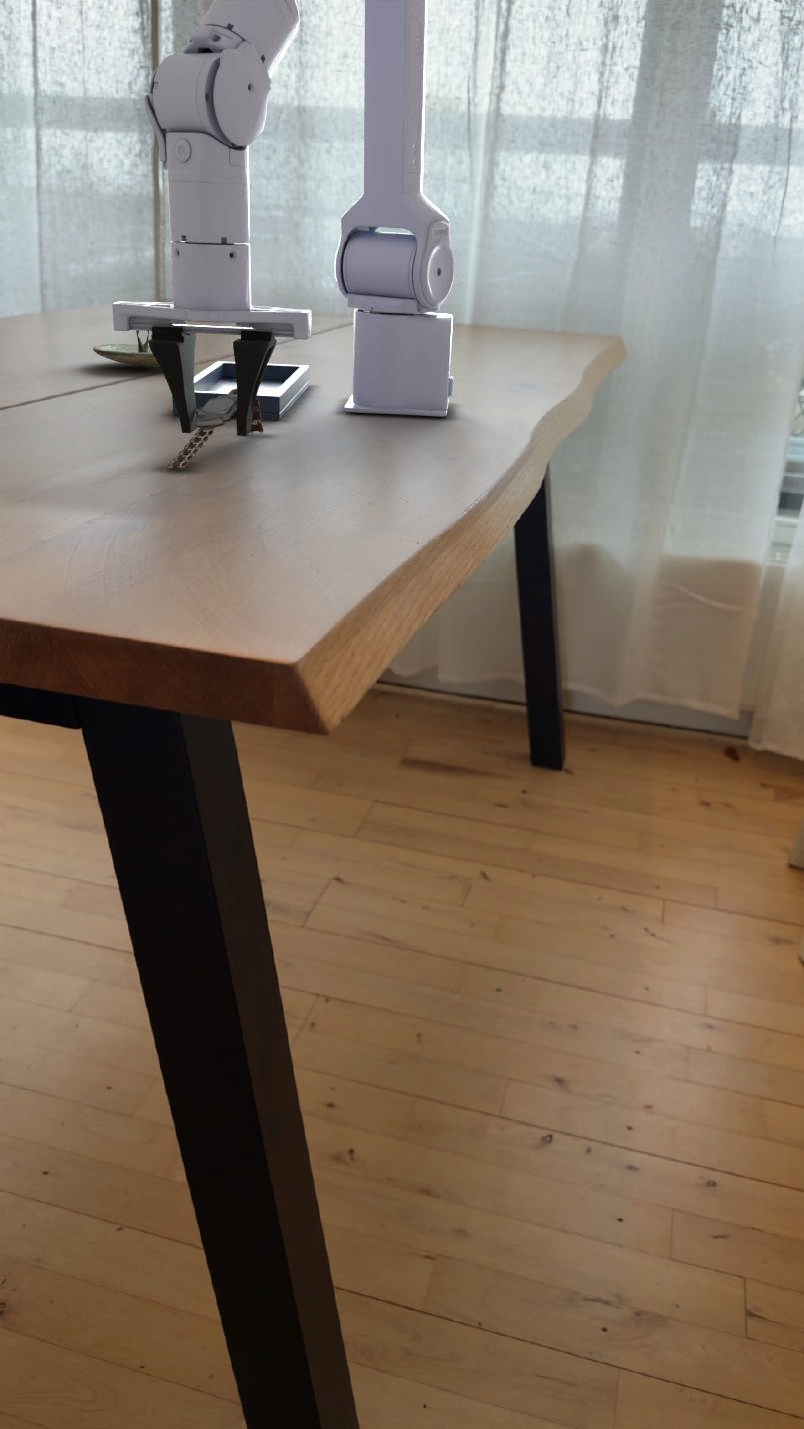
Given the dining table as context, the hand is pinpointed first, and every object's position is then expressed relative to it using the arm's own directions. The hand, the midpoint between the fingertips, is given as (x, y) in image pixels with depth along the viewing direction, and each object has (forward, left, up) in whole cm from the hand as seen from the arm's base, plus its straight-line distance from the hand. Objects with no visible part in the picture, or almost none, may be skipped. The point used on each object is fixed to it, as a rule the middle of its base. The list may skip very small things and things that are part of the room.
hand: (216, 432), depth 88 cm
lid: (+18, -41, -2) cm, 44 cm away
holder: (+2, -24, -1) cm, 24 cm away
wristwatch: (0, 0, -2) cm, 2 cm away
